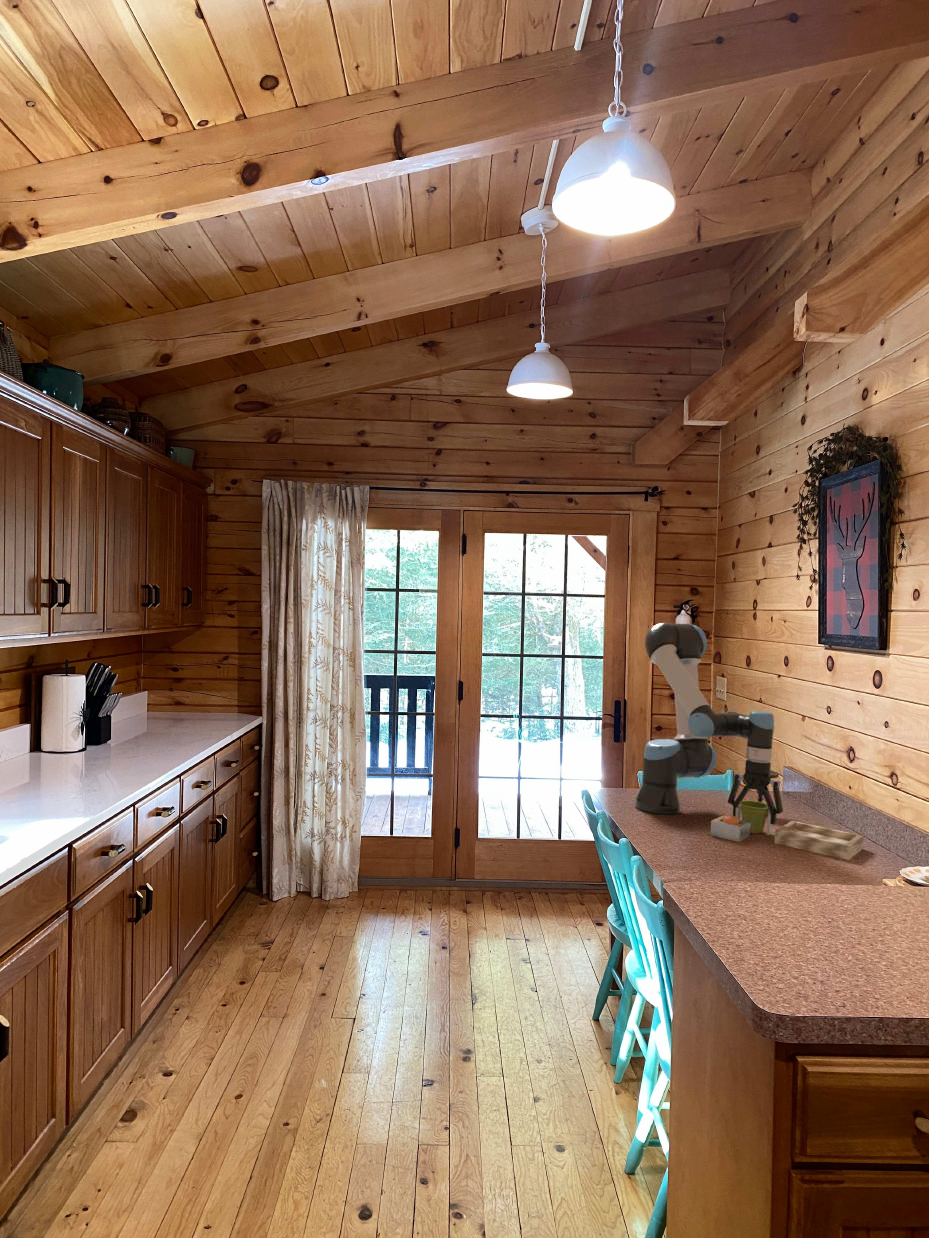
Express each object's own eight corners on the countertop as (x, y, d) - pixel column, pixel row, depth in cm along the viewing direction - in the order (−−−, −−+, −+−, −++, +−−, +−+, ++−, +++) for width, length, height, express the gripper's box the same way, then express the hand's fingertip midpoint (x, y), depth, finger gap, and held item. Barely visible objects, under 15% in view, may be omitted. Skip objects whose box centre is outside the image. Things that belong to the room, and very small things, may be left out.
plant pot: (770, 836, 261) (772, 809, 261) (739, 833, 263) (741, 805, 263) (766, 829, 270) (768, 802, 270) (735, 825, 272) (737, 799, 272)
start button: (719, 826, 258) (720, 817, 258) (725, 824, 262) (726, 814, 262) (735, 830, 255) (736, 820, 255) (741, 827, 259) (742, 818, 259)
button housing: (710, 835, 258) (711, 820, 258) (720, 829, 265) (722, 815, 265) (739, 841, 253) (740, 827, 252) (749, 836, 260) (750, 822, 260)
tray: (774, 843, 254) (775, 829, 254) (791, 833, 267) (792, 820, 267) (848, 860, 241) (849, 846, 241) (862, 848, 255) (863, 835, 255)
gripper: (720, 755, 270) (714, 824, 270) (790, 767, 256) (784, 840, 257) (728, 753, 276) (723, 821, 276) (797, 765, 262) (792, 836, 263)
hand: (752, 830), depth 266 cm, fingers open, 9 cm apart
